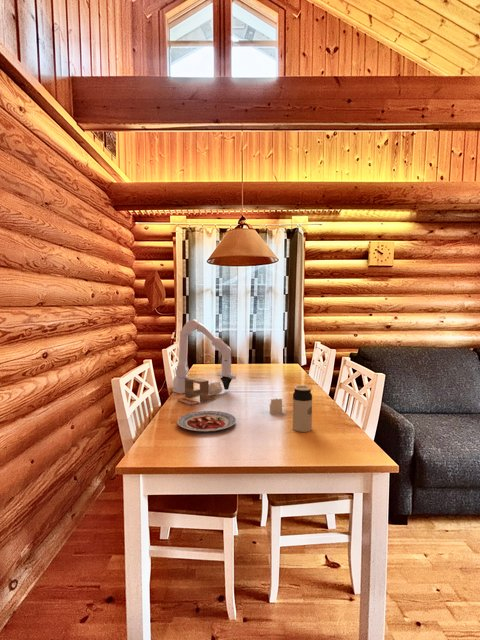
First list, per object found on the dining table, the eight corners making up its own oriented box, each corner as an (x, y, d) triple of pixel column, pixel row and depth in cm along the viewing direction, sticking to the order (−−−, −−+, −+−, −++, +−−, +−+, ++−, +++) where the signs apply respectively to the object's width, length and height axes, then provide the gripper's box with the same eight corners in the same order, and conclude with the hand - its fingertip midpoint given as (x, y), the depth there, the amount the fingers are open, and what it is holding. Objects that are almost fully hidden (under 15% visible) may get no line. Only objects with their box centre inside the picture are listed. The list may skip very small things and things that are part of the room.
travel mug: (288, 428, 151) (289, 386, 150) (301, 424, 156) (302, 384, 155) (302, 434, 145) (303, 390, 144) (315, 429, 150) (316, 387, 149)
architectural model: (268, 412, 174) (268, 397, 174) (282, 411, 175) (282, 396, 175) (270, 414, 171) (270, 399, 171) (284, 413, 172) (284, 398, 172)
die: (224, 395, 207) (219, 380, 211) (222, 391, 199) (217, 376, 203) (211, 400, 206) (206, 385, 210) (209, 396, 198) (203, 381, 203)
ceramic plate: (189, 440, 139) (188, 432, 139) (170, 420, 162) (170, 414, 162) (246, 429, 151) (246, 422, 151) (221, 412, 174) (221, 406, 174)
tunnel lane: (184, 397, 200) (184, 377, 199) (198, 394, 206) (198, 375, 206) (201, 402, 189) (201, 382, 188) (215, 399, 195) (214, 379, 195)
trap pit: (178, 401, 192) (178, 398, 192) (185, 399, 196) (185, 397, 196) (191, 405, 184) (191, 403, 184) (199, 403, 187) (199, 401, 187)
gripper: (239, 367, 208) (239, 390, 209) (223, 364, 219) (223, 386, 219) (230, 369, 203) (230, 392, 204) (214, 365, 214) (214, 388, 215)
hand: (226, 389), depth 211 cm, fingers closed
